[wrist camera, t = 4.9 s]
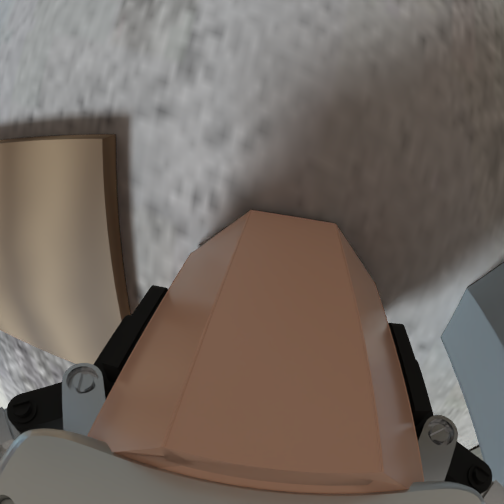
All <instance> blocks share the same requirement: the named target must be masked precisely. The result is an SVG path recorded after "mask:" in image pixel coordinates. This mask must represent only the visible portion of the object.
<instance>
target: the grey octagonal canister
mask: <svg viewBox="0 0 504 504" xmlns="http://www.w3.org/2000/svg"><path fill="white" fill-rule="evenodd" d="M441 339H442V342H443V344H444V346H445V349H446V351H447V353H448V356H449V358H450V361H451V363H452V367H453V369H454V372H455V374H456V377H457V379H458V382H459V385H460V387H461V390H462V393H463V396H464V399H465V401H466V404H467V407H468V410H469V413H470V416H471V419H472V422H473V426H474V429H475V432H476V436H477V439H478V442H479V446H480V450H481V453H482V457H483V461H484V462H485V463H486V464H487V465H489V467H490V469H491V471H492V481H495V480H497V481H498V482H499V483H500V484H501V485H502V486H503V487H504V263H502V264H501V265H500V266H498V267H497V268H495V269H494V270H493V271H491V272H490V273H488V274H487V275H485V276H484V277H483V278H481V279H480V280H478V281H477V282H475V283H474V284H472V285H471V286H469V287H468V288H467V289H466V291H465V293H464V295H463V297H462V299H461V301H460V303H459V305H458V307H457V309H456V311H455V313H454V315H453V317H452V318H451V320H450V322H449V324H448V326H447V327H446V329H445V331H444V333H443V334H442V336H441Z"/></svg>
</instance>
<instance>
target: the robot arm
mask: <svg viewBox="0 0 504 504" xmlns="http://www.w3.org/2000/svg"><path fill="white" fill-rule="evenodd" d="M167 291H168V289H167V288H164V287H159V286H154V285H153V286H151V288H150V289H149V290H148V292H147V293H146V295H145V296H144V298H143V299H142V301H141V302H140V304H139V305H138V307H137V308H136V310H135V311H134V313H133V314H132V316H131V315H127V316H125V317H124V318H123V320H122V321H121V323H120V324H119V326H118V327H117V329H116V330H115V332H114V333H113V335H112V336H111V338H110V339H109V341H108V343H107V344H106V346H105V347H104V349H103V350H102V352H101V353H100V355H99V356H98V358H97V360H96V361H95V363H94V364H89V363H79V364H75V365H73V366H71V367H70V368H69V369H68V370H66V372H65V373H64V375H63V379H62V382H61V383H58V384H54V385H51V386H47V387H44V388H40V389H37V390H33V391H30V392H26V393H22V394H19V395H17V396H15V397H14V398H13V399H12V400H11V401H10V402H9V404H8V407H7V409H3V408H2V407H1V408H0V504H504V487H503V486H502V485H501V484H500V483H499V482H498V481H497V480H495V481H492V471H491V469H490V467H489V465H487V464H486V463H485V462H484V461H483V457H482V453H481V450H480V447H478V448H476V449H474V450H472V451H469V450H468V449H466V448H465V447H464V446H462V445H461V444H460V443H458V442H457V437H458V432H457V428H456V426H455V424H454V423H453V422H452V421H451V420H450V419H449V418H447V417H445V416H442V415H435V416H433V412H432V408H431V404H430V401H429V397H428V393H427V390H426V387H425V383H424V380H423V377H422V373H421V370H420V367H419V364H418V362H417V360H416V359H415V356H414V353H413V350H412V347H411V344H410V341H409V338H408V335H407V333H406V330H405V327H404V325H403V324H395V323H388V324H389V328H390V331H391V334H392V338H393V341H394V345H395V348H396V352H397V355H398V359H399V362H400V366H401V370H402V374H403V378H404V382H405V386H406V390H407V394H408V398H409V402H410V407H411V411H412V416H413V420H414V425H415V430H416V435H417V440H418V446H419V451H420V457H421V463H422V469H423V476H424V482H413V483H412V485H411V486H410V488H409V489H407V490H398V491H388V492H374V493H353V494H320V493H298V492H284V491H273V490H264V489H256V488H249V487H242V486H236V485H230V484H224V483H219V482H214V481H209V480H204V479H200V478H195V477H191V476H187V475H183V474H179V473H175V472H171V471H168V470H164V469H161V468H157V467H154V466H151V465H148V464H144V463H141V462H138V461H135V460H132V459H130V458H127V457H124V456H121V455H118V454H116V453H113V452H112V451H111V449H110V448H109V446H108V445H107V443H106V442H103V441H100V440H97V439H94V438H91V437H88V436H87V435H88V433H89V431H90V429H91V427H92V425H93V423H94V422H95V420H96V418H97V416H98V414H99V412H100V410H101V408H102V406H103V404H104V402H105V400H106V399H107V397H108V395H109V393H110V391H111V389H112V387H113V385H114V384H115V382H116V380H117V378H118V376H119V374H120V373H121V371H122V369H123V367H124V365H125V364H126V362H127V360H128V358H129V356H130V355H131V353H132V351H133V349H134V348H135V346H136V344H137V342H138V341H139V339H140V337H141V335H142V334H143V332H144V330H145V328H146V327H147V325H148V323H149V321H150V320H151V318H152V316H153V315H154V313H155V311H156V310H157V308H158V306H159V304H160V303H161V301H162V299H163V298H164V296H165V294H166V293H167Z"/></svg>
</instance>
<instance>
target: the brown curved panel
mask: <svg viewBox="0 0 504 504" xmlns="http://www.w3.org/2000/svg"><path fill="white" fill-rule="evenodd" d="M127 315H131V314H130V308H129V302H128V296H127V289H126V282H125V275H124V267H123V259H122V250H121V240H120V229H119V217H118V202H117V183H116V134H90V135H58V136H40V137H27V138H15V139H5V140H0V330H1V331H3V332H5V333H7V334H9V335H11V336H13V337H15V338H17V339H19V340H22V341H24V342H26V343H28V344H30V345H32V346H35V347H37V348H39V349H41V350H44V351H46V352H48V353H51V354H53V355H55V356H58V357H60V358H63V359H65V360H68V361H70V362H73V363H75V364H79V363H89V364H94V363H95V361H96V360H97V358H98V356H99V355H100V353H101V352H102V350H103V349H104V347H105V346H106V344H107V343H108V341H109V339H110V338H111V336H112V335H113V333H114V332H115V330H116V329H117V327H118V326H119V324H120V323H121V321H122V320H123V318H124V317H125V316H127Z"/></svg>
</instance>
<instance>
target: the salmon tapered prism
mask: <svg viewBox="0 0 504 504" xmlns="http://www.w3.org/2000/svg"><path fill="white" fill-rule="evenodd" d="M87 436H88V437H91V438H94V439H97V440H100V441H103V442H106V443H107V445H108V446H109V448H110V449H111V451H112V452H113V453H116V454H118V455H121V456H124V457H127V458H130V459H132V460H135V461H138V462H141V463H144V464H148V465H151V466H154V467H157V468H161V469H164V470H168V471H171V472H175V473H179V474H183V475H187V476H191V477H195V478H200V479H204V480H209V481H214V482H219V483H224V484H230V485H236V486H242V487H249V488H256V489H264V490H273V491H284V492H298V493H320V494H353V493H374V492H388V491H398V490H407V489H409V488H410V486H411V485H412V483H413V482H424V476H423V469H422V463H421V457H420V451H419V446H418V440H417V435H416V430H415V425H414V420H413V416H412V411H411V407H410V402H409V398H408V394H407V390H406V386H405V382H404V378H403V374H402V370H401V366H400V362H399V359H398V355H397V352H396V348H395V345H394V341H393V338H392V334H391V331H390V328H389V324H388V321H387V318H386V315H385V312H384V309H383V305H382V302H381V299H380V296H379V293H378V290H377V288H376V285H375V282H374V281H373V279H372V278H371V276H370V275H369V273H368V272H367V270H366V268H365V267H364V265H363V264H362V262H361V261H360V259H359V258H358V256H357V255H356V253H355V252H354V250H353V249H352V247H351V246H350V244H349V243H348V241H347V240H346V238H345V237H344V235H343V234H342V232H341V231H340V229H339V228H338V226H337V225H336V224H335V223H329V222H323V221H317V220H311V219H305V218H299V217H293V216H287V215H281V214H274V213H268V212H261V211H255V210H250V211H249V212H247V213H246V214H244V215H243V216H242V217H240V218H239V219H237V220H236V221H235V222H233V223H232V224H230V225H229V226H228V227H226V228H225V229H224V230H222V231H221V232H219V233H218V234H217V235H215V236H214V237H213V238H211V239H210V240H208V241H207V242H206V243H204V244H203V245H202V246H200V247H199V248H198V249H196V250H195V251H194V252H192V253H191V254H190V255H189V257H188V258H187V260H186V262H185V263H184V265H183V267H182V268H181V270H180V271H179V273H178V275H177V276H176V278H175V280H174V281H173V283H172V284H171V286H170V288H169V289H168V291H167V293H166V294H165V296H164V298H163V299H162V301H161V303H160V304H159V306H158V308H157V310H156V311H155V313H154V315H153V316H152V318H151V320H150V321H149V323H148V325H147V327H146V328H145V330H144V332H143V334H142V335H141V337H140V339H139V341H138V342H137V344H136V346H135V348H134V349H133V351H132V353H131V355H130V356H129V358H128V360H127V362H126V364H125V365H124V367H123V369H122V371H121V373H120V374H119V376H118V378H117V380H116V382H115V384H114V385H113V387H112V389H111V391H110V393H109V395H108V397H107V399H106V400H105V402H104V404H103V406H102V408H101V410H100V412H99V414H98V416H97V418H96V420H95V422H94V423H93V425H92V427H91V429H90V431H89V433H88V435H87Z"/></svg>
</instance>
